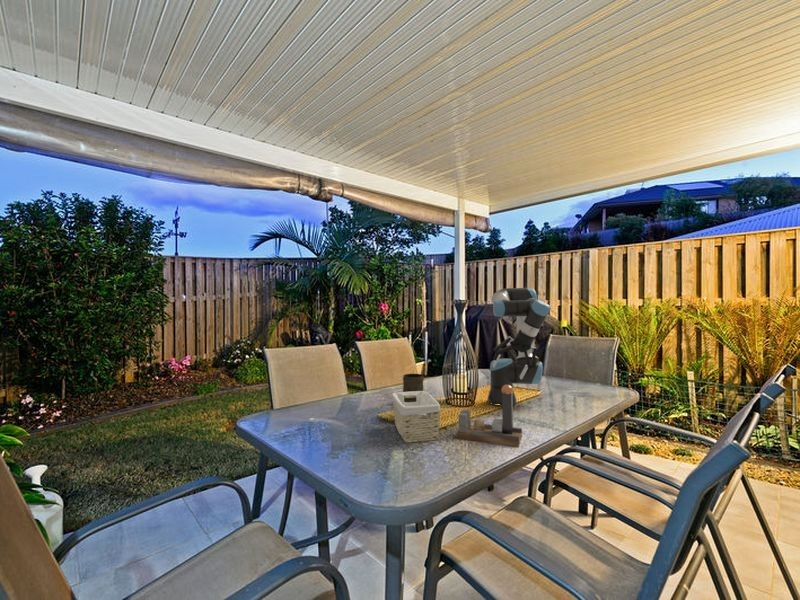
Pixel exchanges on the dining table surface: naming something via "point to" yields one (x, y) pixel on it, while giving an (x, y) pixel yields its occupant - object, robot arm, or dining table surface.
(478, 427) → the tan rounded cylinder
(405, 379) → the beer stein
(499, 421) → the handle
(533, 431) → the dining table surface
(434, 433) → the storage basket
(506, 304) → the robot arm
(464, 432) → the base
